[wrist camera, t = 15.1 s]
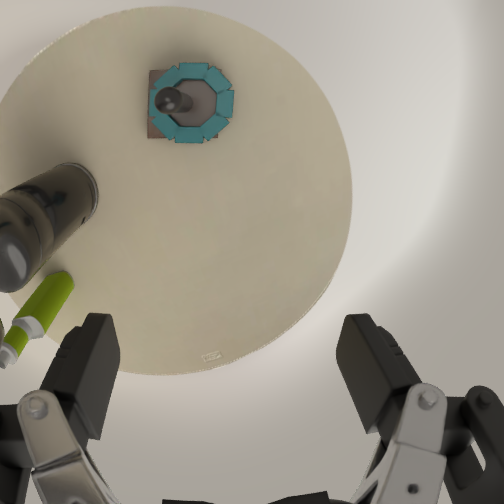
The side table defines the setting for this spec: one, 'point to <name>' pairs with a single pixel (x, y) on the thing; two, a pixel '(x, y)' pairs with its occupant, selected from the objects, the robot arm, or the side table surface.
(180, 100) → the peg stand
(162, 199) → the side table surface
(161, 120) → the ring
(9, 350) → the vape
